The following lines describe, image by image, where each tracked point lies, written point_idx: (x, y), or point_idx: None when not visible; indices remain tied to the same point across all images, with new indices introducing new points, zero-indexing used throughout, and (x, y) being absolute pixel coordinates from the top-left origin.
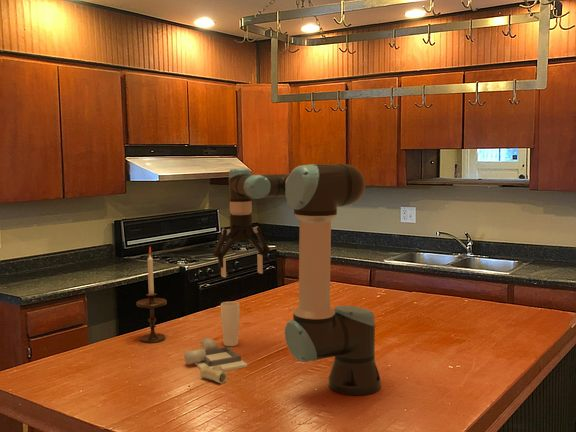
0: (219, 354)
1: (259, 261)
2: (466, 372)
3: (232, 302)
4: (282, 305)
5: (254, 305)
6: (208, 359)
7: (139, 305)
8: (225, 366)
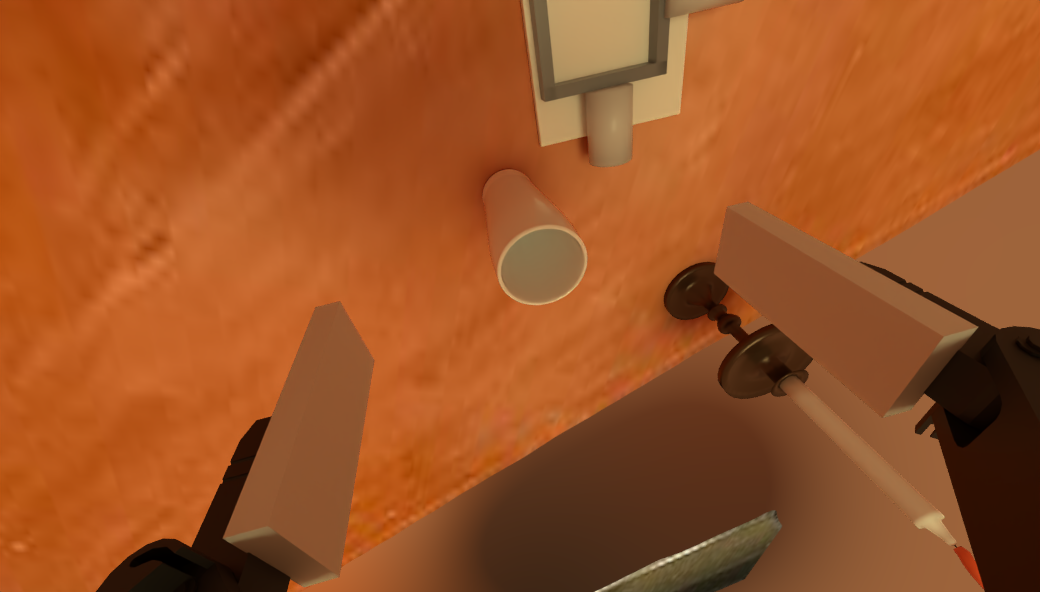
0: (580, 58)
1: (324, 435)
2: None
3: (522, 298)
4: None
5: (390, 491)
6: None
7: None
8: None
